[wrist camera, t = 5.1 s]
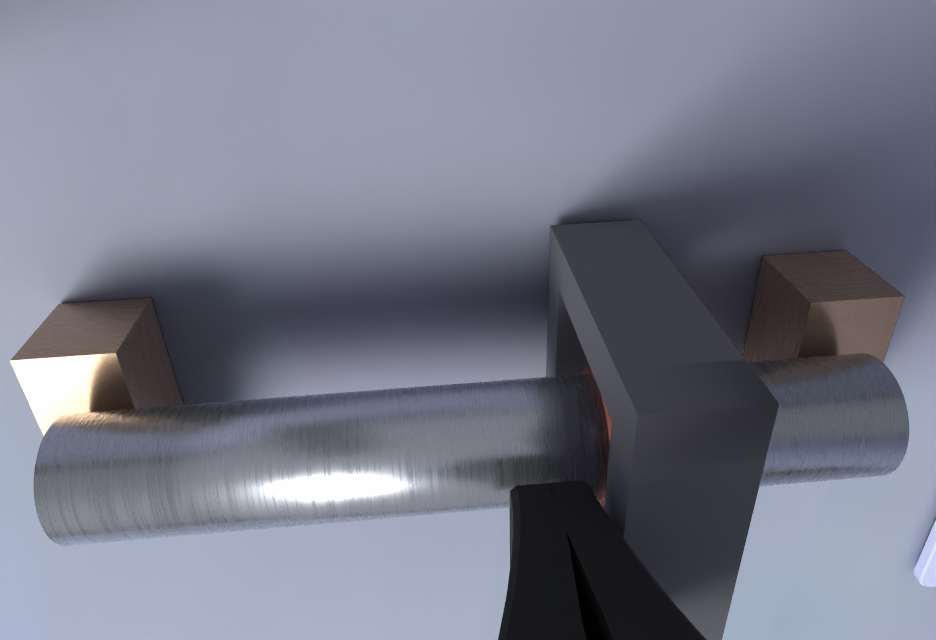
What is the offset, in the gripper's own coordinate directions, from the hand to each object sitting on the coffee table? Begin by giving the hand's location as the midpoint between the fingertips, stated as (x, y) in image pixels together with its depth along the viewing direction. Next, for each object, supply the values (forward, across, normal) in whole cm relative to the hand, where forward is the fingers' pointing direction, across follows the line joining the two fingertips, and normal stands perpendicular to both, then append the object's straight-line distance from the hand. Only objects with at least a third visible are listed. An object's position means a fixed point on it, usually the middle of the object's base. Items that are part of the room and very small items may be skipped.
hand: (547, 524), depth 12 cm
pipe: (+6, +1, 0) cm, 6 cm away
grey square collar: (+6, -2, 0) cm, 6 cm away
